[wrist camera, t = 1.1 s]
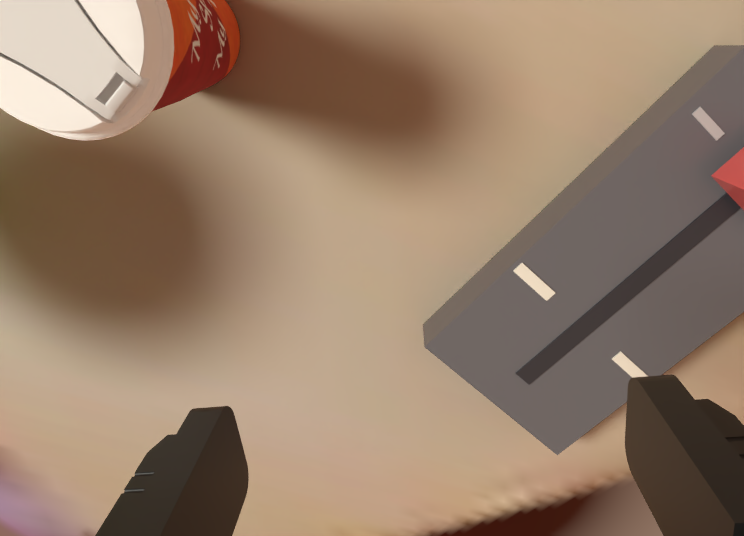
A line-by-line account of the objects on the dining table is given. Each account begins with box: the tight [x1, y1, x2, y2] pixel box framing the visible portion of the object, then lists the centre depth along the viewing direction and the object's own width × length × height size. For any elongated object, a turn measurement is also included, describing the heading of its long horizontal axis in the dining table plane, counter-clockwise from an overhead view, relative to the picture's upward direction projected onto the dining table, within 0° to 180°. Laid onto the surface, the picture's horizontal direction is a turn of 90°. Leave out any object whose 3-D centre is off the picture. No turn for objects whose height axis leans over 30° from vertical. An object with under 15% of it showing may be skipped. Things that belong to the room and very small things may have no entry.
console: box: [423, 46, 744, 455], centre depth 34 cm, size 23×12×3 cm, turn 139°
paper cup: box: [0, 0, 240, 140], centre depth 25 cm, size 8×8×14 cm
